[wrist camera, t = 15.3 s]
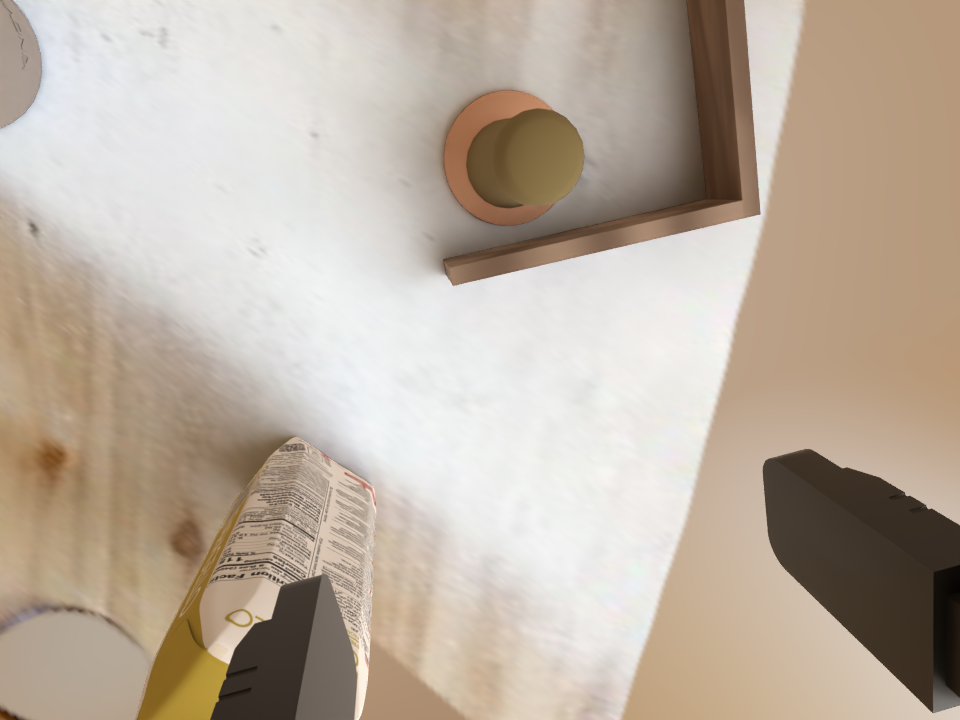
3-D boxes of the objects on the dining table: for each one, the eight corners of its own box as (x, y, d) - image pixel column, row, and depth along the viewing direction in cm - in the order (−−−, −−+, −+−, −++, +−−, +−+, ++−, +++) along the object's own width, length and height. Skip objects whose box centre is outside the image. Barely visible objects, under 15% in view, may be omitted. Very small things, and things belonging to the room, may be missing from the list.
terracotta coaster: (459, 237, 45) (460, 237, 45) (431, 106, 42) (431, 105, 42) (578, 210, 46) (580, 210, 45) (557, 79, 43) (559, 78, 43)
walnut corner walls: (446, 275, 46) (453, 285, 41) (385, 6, 41) (384, -19, 36) (723, 211, 47) (760, 214, 42) (698, -57, 42) (737, -88, 37)
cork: (483, 220, 44) (510, 231, 34) (453, 136, 43) (472, 119, 32) (561, 190, 45) (612, 192, 34) (535, 105, 43) (580, 78, 32)
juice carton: (230, 496, 48) (81, 778, 25) (291, 418, 47) (193, 638, 24) (331, 556, 50) (279, 863, 28) (391, 484, 49) (388, 740, 27)
